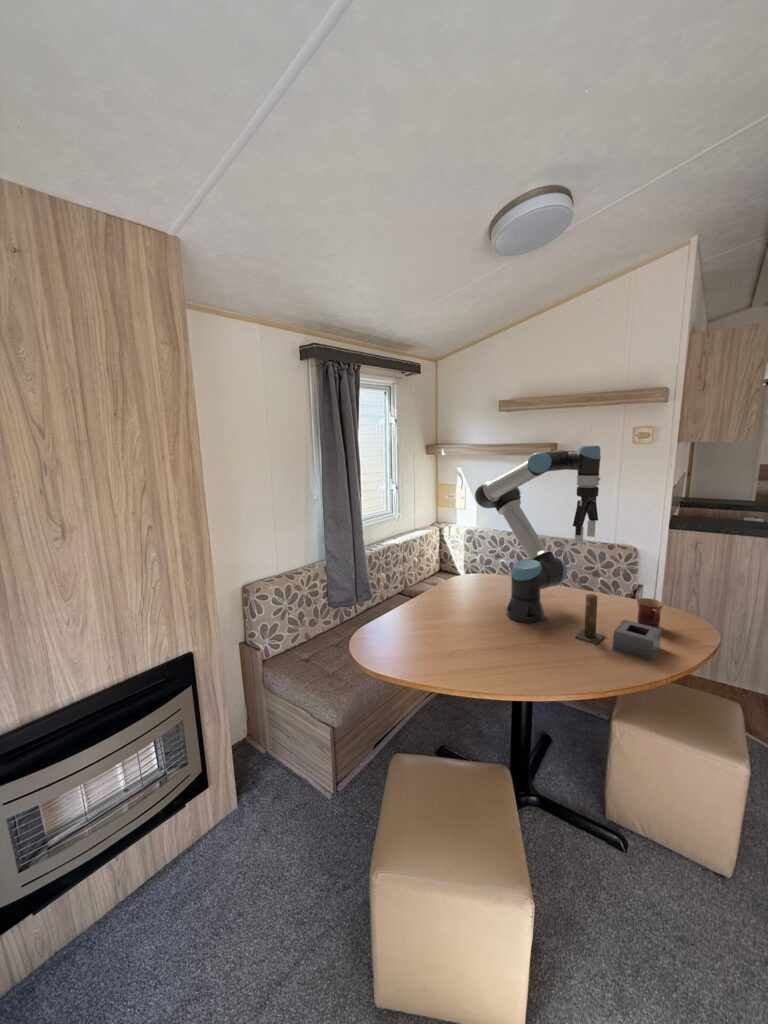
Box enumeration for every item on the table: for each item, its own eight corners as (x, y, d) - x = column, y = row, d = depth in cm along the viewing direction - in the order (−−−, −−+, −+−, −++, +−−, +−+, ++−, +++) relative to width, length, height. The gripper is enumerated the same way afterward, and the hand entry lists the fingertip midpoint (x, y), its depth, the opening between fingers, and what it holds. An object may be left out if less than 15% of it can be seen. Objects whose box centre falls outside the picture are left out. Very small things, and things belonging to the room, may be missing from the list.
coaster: (574, 638, 156) (574, 636, 156) (582, 630, 161) (582, 629, 161) (597, 644, 150) (597, 643, 150) (604, 636, 156) (604, 635, 156)
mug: (631, 621, 168) (633, 597, 166) (655, 622, 166) (657, 598, 164) (643, 635, 156) (645, 609, 154) (669, 636, 154) (671, 610, 152)
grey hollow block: (612, 649, 147) (613, 630, 145) (622, 637, 155) (623, 619, 154) (651, 660, 138) (653, 641, 137) (659, 647, 147) (661, 629, 146)
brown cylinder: (582, 636, 155) (584, 596, 153) (586, 632, 158) (588, 593, 155) (593, 639, 153) (595, 598, 150) (596, 635, 156) (598, 595, 153)
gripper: (586, 490, 147) (583, 547, 151) (608, 483, 165) (605, 535, 168) (565, 489, 152) (562, 544, 156) (588, 482, 170) (586, 532, 173)
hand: (584, 539), depth 162 cm, fingers open, 13 cm apart
